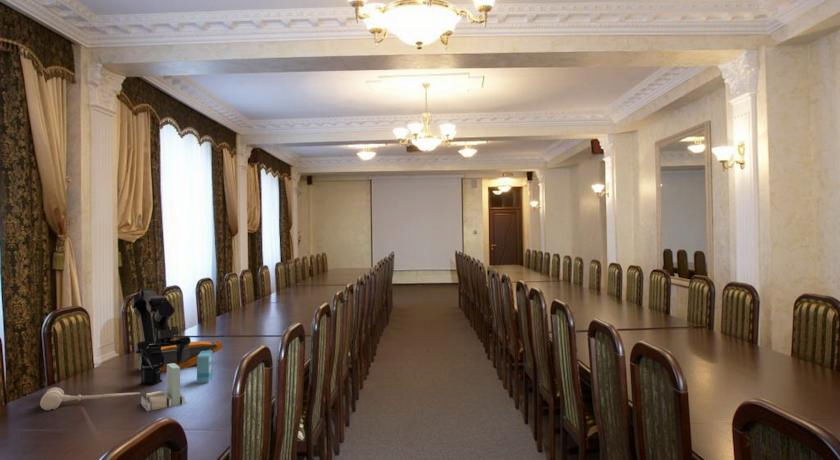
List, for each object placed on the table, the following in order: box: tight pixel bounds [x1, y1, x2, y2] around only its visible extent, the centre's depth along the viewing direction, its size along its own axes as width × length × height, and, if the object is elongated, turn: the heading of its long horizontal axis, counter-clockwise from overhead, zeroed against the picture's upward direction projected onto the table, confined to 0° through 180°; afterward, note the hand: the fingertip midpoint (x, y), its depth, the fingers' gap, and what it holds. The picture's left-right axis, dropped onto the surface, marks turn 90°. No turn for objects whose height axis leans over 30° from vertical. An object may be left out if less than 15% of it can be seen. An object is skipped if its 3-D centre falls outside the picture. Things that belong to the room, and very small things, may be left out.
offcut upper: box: [145, 390, 167, 404], centre depth 184 cm, size 8×5×2 cm, turn 39°
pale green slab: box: [166, 363, 181, 406], centre depth 187 cm, size 8×2×13 cm, turn 39°
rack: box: [140, 392, 188, 412], centre depth 186 cm, size 10×13×4 cm
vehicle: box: [160, 339, 225, 372], centre depth 244 cm, size 14×34×10 cm, turn 124°
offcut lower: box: [150, 401, 167, 410], centre depth 184 cm, size 8×5×2 cm, turn 39°
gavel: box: [39, 387, 140, 411], centre depth 191 cm, size 10×6×32 cm
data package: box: [196, 351, 214, 384], centre depth 217 cm, size 12×4×12 cm, turn 14°
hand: (166, 366), depth 197 cm, fingers open, 9 cm apart
